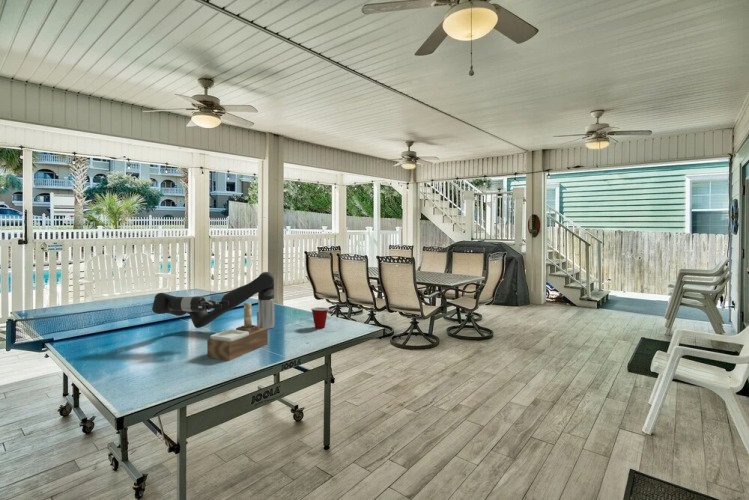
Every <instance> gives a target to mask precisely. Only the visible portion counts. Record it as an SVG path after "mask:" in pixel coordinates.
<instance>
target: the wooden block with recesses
mask: <svg viewBox="0 0 749 500" xmlns="http://www.w3.org/2000/svg"><path fill="white" fill-rule="evenodd" d="M235 330H240V331H247V332H249V336H246V337H243V338H240V339H238V340H235V341H232V342H227V341H220V340H213V339H211V338H209V339H208V338H207V340H206V341H207V342H206V344H207V346H206V347H207V348H206V349H207V351H206V353H207V357H208V358H212V359H218V360H223V361H232V360H235V359H237V358H239V357H242V356H243V355H246V354H249V353H250V352H254V351H255V350H258V349H260V348H262V347H265V346H267V345H268V343H269V341H268V339H269V336H268V331H269V330H268V329H265V328H260V326H257V324H252V328H249V329H248V328H244V325H241V326H237V327H236V328H235Z"/></svg>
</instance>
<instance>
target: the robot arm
mask: <svg viewBox="0 0 749 500" xmlns="http://www.w3.org/2000/svg"><path fill="white" fill-rule="evenodd" d="M256 294H257V310H258V311H256V325H257V326H260V328H265V329H273V328H275V279H274V275H273V273H271V272H269V271H263V272H262V273H260V274H259V276H257V277H256V278H255V279H253V280H251V282H249V283H247V284H244V285H242V286H241V285H240V286H238V287H237V288H234V289H233V290H230V291H229V292H227V293H225V294H224V295H223V296H222V298H221V299H207V300H206V299H205V297H204V296H177V295H176V296H175V295H171V294H169V293H164V292H158V293H157V294H155V296H154V298H153V303H152V309H151V310H152V312H153V313H155V314H157V315H162V314H163V315H165V314H169V315H174V316H176V317H181V316H184V315H189V318H190V319H191V322H192V324H193V326H194V327H195V329H201V328H204V327H205V326H207V325H209V324H210V323H212V322H213V321H215V320H216V319H218V318H219V317H220V316H222V315H224V314H225V313H228V312H229V311H230V310H232V309H234V308H236V307H237V306H239V305H241V304H242V303H243V304H244V303H245V302H246V301H247V300H249V299H251V298H252V296H254V295H256ZM208 311H210V312H208Z"/></svg>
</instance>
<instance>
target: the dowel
mask: <svg viewBox="0 0 749 500" xmlns="http://www.w3.org/2000/svg"><path fill="white" fill-rule="evenodd" d="M252 311H253V310H252V302H243V320H244V321H243V326H244V328H248V329H249V328H252V325H253V323H252V321H253V317H252V314H253V312H252Z"/></svg>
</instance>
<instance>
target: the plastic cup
mask: <svg viewBox="0 0 749 500" xmlns="http://www.w3.org/2000/svg"><path fill="white" fill-rule="evenodd" d="M310 310H311V313H312V317H313V324H314V328H315V329H317V330H321V329H325V328H326V322H327V317H328V312H329V310H330V308H328V307H321V306H320V307H318V306H316V307H315V306H314V307H310Z"/></svg>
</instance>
